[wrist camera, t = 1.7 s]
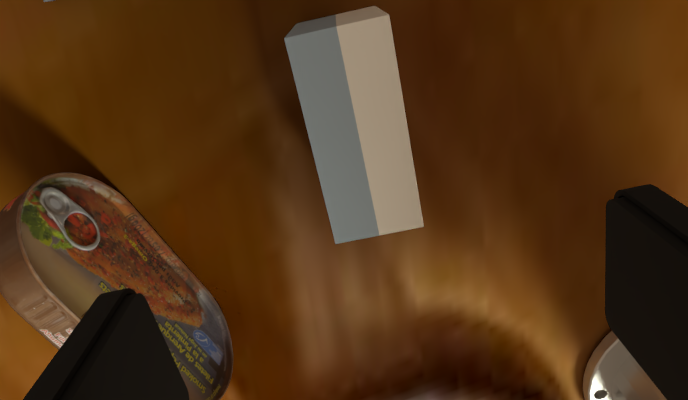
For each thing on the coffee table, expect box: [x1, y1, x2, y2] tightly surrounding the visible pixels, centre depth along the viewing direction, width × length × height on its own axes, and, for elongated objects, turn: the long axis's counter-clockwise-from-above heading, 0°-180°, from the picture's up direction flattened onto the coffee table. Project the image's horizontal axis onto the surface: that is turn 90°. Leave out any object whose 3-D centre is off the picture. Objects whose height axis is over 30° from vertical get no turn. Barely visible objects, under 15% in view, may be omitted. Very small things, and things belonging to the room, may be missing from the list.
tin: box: [0, 172, 233, 400], centre depth 27 cm, size 15×3×8 cm, turn 31°
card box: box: [284, 6, 424, 244], centre depth 23 cm, size 4×9×7 cm, turn 12°
